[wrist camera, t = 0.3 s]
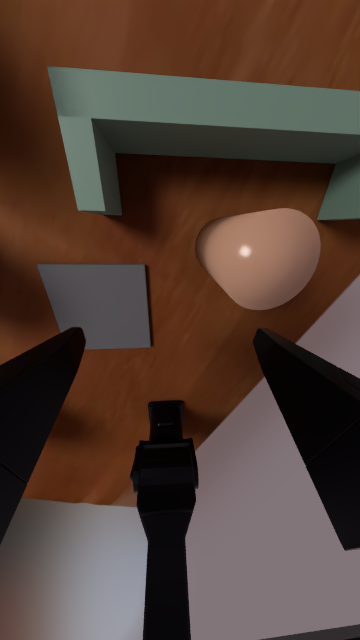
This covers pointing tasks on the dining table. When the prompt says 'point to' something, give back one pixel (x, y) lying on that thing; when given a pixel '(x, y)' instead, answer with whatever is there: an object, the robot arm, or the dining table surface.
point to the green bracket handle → (203, 129)
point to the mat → (100, 302)
